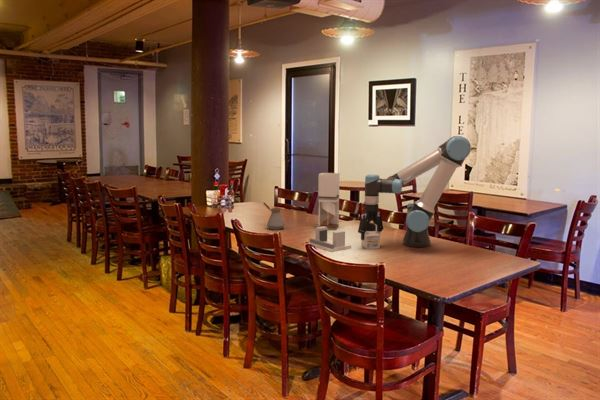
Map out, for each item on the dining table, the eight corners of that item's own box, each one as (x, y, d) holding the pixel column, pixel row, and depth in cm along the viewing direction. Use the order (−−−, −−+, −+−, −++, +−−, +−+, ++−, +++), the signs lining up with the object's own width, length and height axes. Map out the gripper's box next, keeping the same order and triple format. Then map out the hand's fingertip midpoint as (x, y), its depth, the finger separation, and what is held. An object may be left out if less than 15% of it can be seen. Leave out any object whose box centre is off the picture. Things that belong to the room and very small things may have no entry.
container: (366, 249, 280) (367, 225, 278) (361, 246, 288) (361, 222, 286) (379, 248, 282) (380, 224, 281) (374, 245, 290) (374, 222, 288)
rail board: (351, 248, 283) (351, 230, 281) (331, 251, 274) (331, 234, 273) (328, 241, 298) (328, 225, 296) (308, 245, 289) (309, 228, 288)
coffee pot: (288, 229, 332) (288, 206, 329) (272, 231, 325) (272, 207, 323) (271, 224, 349) (271, 201, 347) (255, 225, 343) (255, 203, 341)
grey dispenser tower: (317, 229, 332) (318, 174, 327) (321, 226, 342) (321, 172, 337) (335, 230, 329) (336, 174, 324) (338, 227, 340) (339, 173, 334)
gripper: (381, 200, 291) (379, 240, 294) (351, 204, 278) (350, 245, 281) (391, 202, 285) (389, 242, 288) (361, 206, 272) (360, 248, 275)
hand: (370, 244), depth 285 cm, fingers closed on container, 9 cm apart
